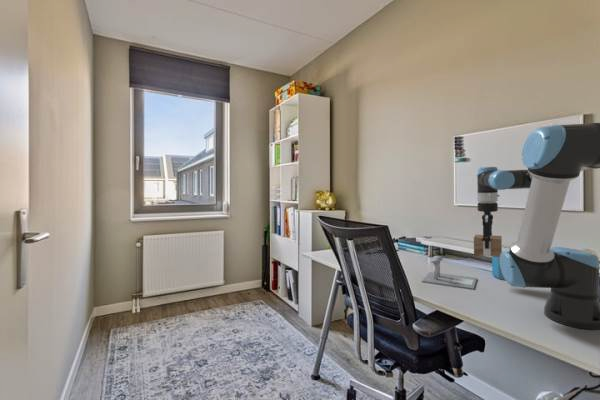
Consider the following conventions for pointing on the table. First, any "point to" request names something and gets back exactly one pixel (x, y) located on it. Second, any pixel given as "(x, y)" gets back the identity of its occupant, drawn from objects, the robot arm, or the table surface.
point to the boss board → (448, 277)
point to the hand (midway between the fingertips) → (487, 253)
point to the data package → (497, 268)
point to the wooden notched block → (495, 245)
